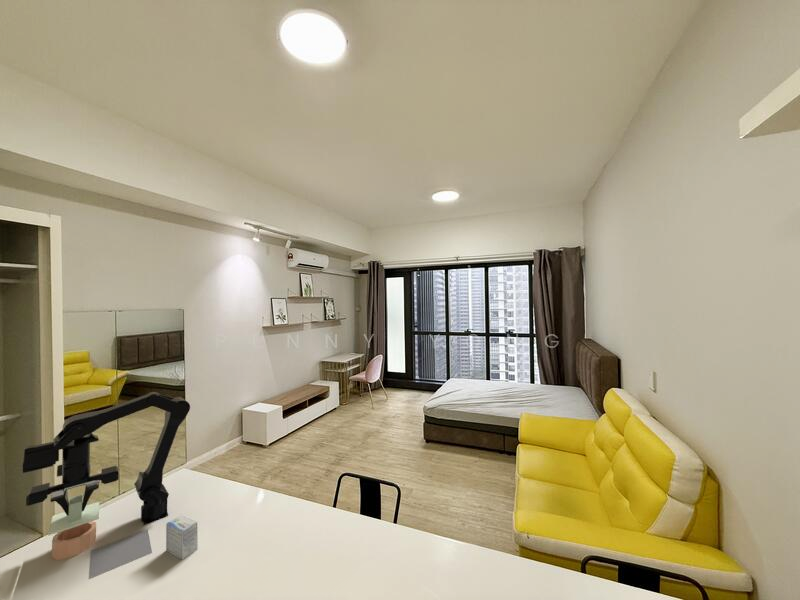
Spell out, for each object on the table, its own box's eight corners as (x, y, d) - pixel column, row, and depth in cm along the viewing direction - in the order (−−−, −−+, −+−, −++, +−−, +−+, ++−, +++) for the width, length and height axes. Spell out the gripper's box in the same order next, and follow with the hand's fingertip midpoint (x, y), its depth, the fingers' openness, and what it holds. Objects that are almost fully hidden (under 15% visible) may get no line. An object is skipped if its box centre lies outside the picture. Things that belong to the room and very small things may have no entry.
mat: (147, 530, 101) (147, 529, 101) (152, 554, 92) (152, 552, 92) (90, 552, 92) (90, 550, 92) (89, 580, 83) (89, 579, 83)
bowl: (96, 533, 100) (96, 517, 100) (95, 549, 93) (95, 532, 94) (54, 547, 94) (54, 530, 94) (50, 566, 87) (50, 548, 87)
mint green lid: (99, 503, 101) (99, 485, 101) (98, 518, 94) (98, 500, 94) (52, 517, 94) (53, 498, 94) (48, 535, 87) (48, 515, 87)
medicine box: (198, 550, 93) (198, 521, 93) (182, 562, 89) (182, 530, 89) (181, 542, 96) (181, 513, 97) (165, 552, 92) (165, 522, 93)
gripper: (117, 441, 106) (117, 488, 106) (33, 460, 94) (32, 513, 93) (118, 453, 98) (118, 504, 98) (26, 475, 85) (25, 534, 85)
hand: (75, 512), depth 94 cm, fingers closed on mint green lid, 3 cm apart
